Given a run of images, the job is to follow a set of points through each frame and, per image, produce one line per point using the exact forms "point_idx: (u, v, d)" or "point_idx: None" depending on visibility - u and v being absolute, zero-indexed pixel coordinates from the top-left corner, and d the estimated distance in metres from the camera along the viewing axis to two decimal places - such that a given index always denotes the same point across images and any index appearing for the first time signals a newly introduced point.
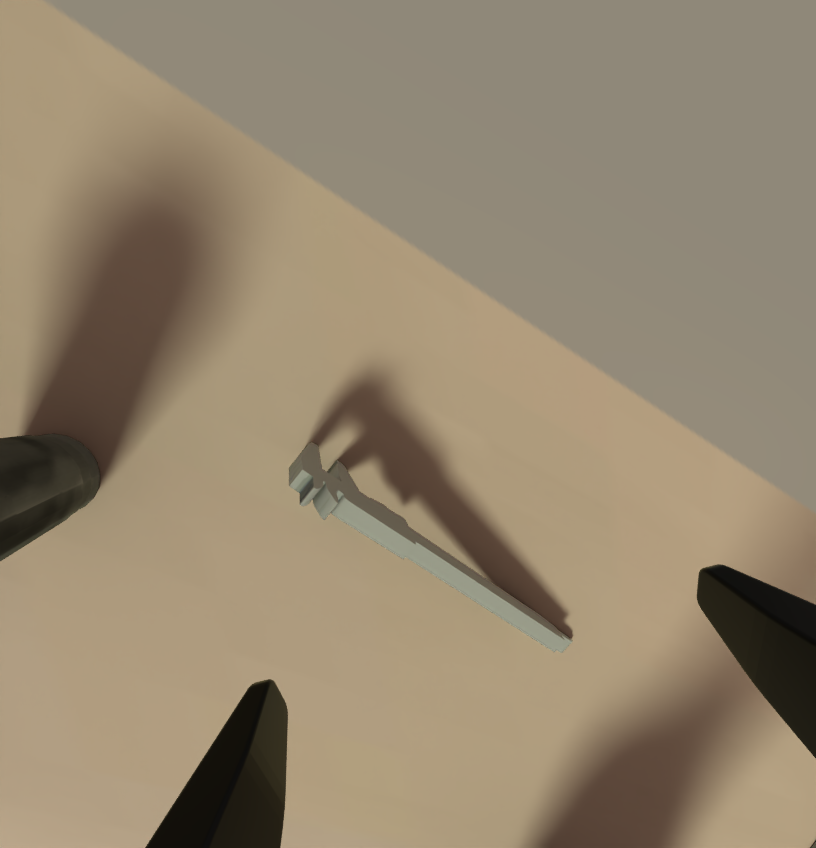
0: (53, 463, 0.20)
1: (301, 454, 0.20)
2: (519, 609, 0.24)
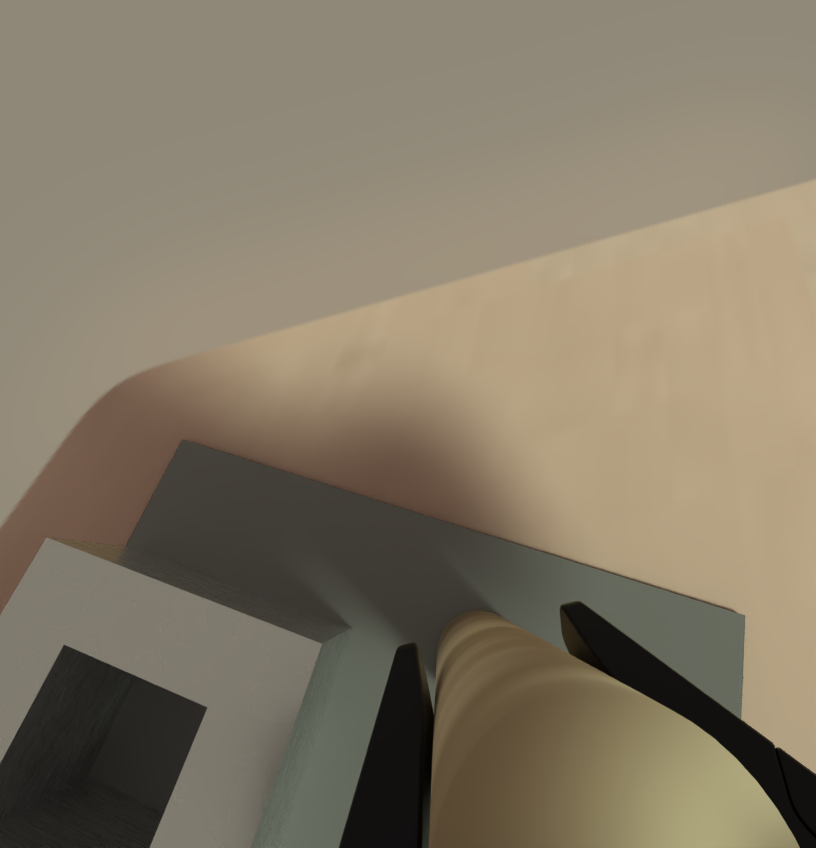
0: None
1: None
2: None
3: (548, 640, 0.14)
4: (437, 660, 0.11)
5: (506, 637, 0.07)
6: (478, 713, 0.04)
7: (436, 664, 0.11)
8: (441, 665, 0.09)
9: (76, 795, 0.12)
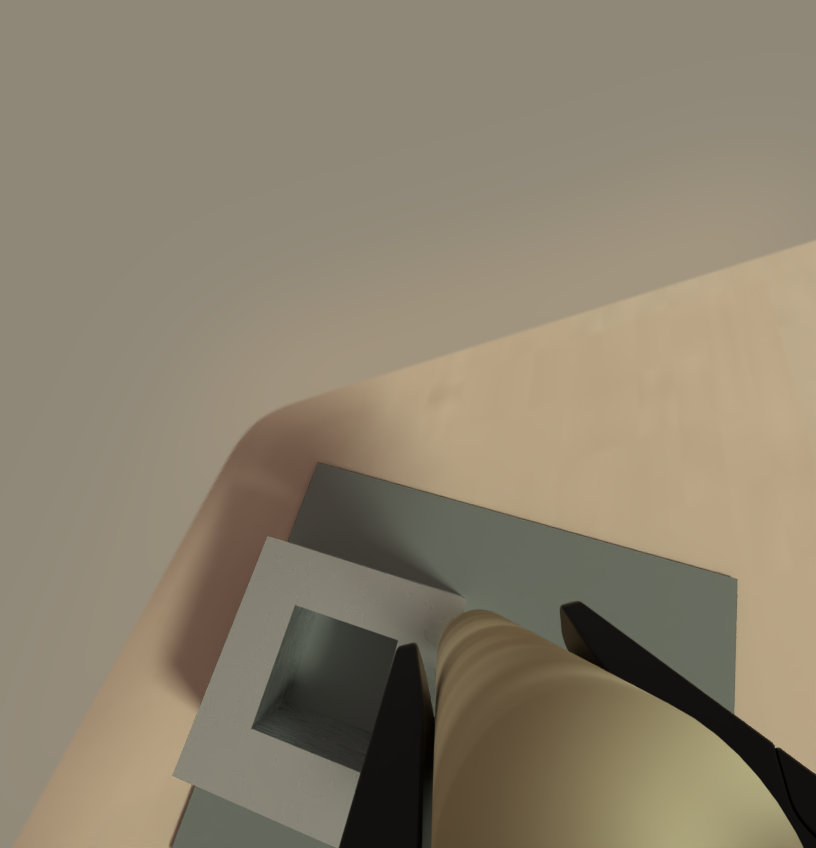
0: None
1: None
2: None
3: (601, 600, 0.20)
4: (438, 659, 0.11)
5: (507, 635, 0.07)
6: (480, 710, 0.04)
7: (437, 663, 0.11)
8: (442, 664, 0.09)
9: (289, 710, 0.18)
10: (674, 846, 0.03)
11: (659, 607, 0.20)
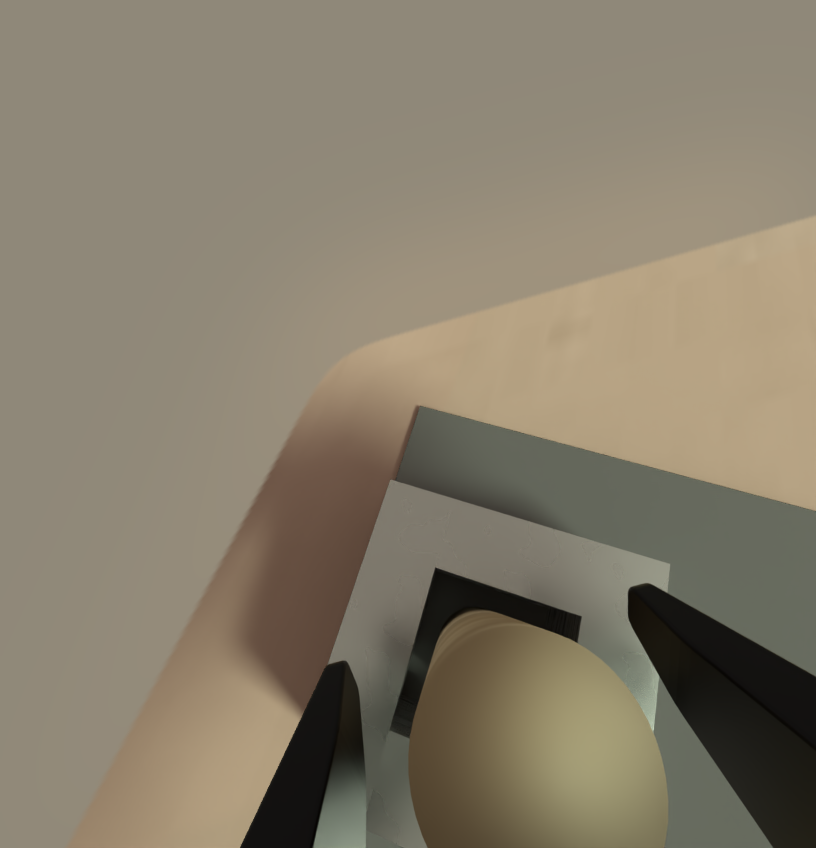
0: None
1: None
2: None
3: (801, 577, 0.16)
4: None
5: (484, 616, 0.09)
6: (448, 651, 0.06)
7: None
8: (436, 645, 0.11)
9: (412, 706, 0.14)
10: (568, 728, 0.05)
11: None
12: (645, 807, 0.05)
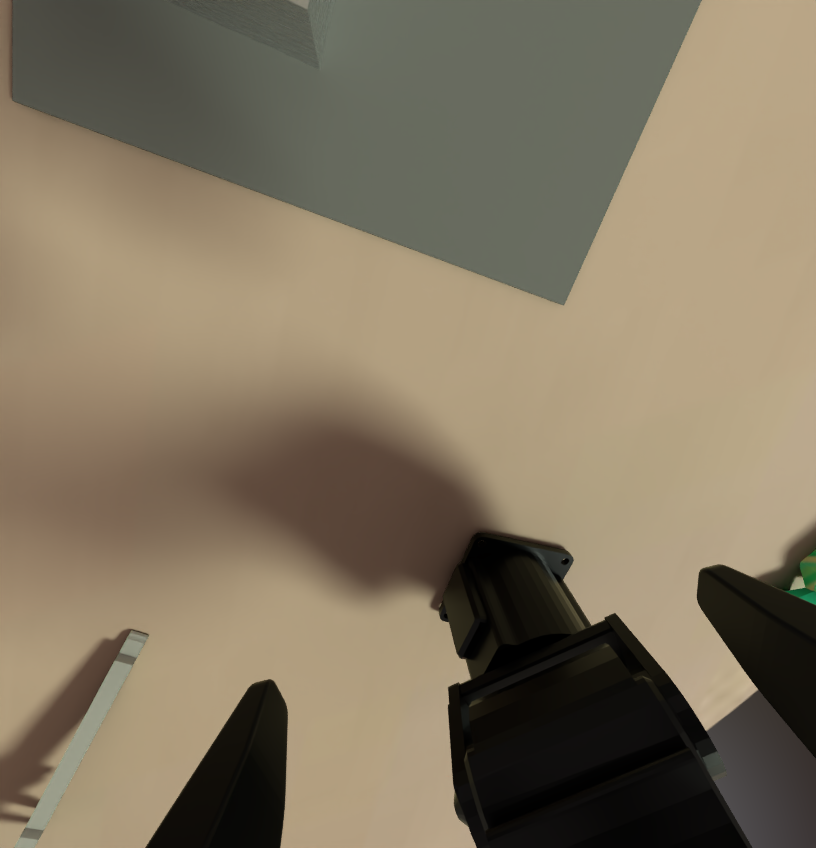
0: None
1: None
2: None
3: None
4: None
5: None
6: None
7: None
8: None
9: None
10: None
11: None
12: None
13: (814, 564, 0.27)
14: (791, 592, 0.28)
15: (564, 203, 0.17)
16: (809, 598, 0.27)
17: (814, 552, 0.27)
